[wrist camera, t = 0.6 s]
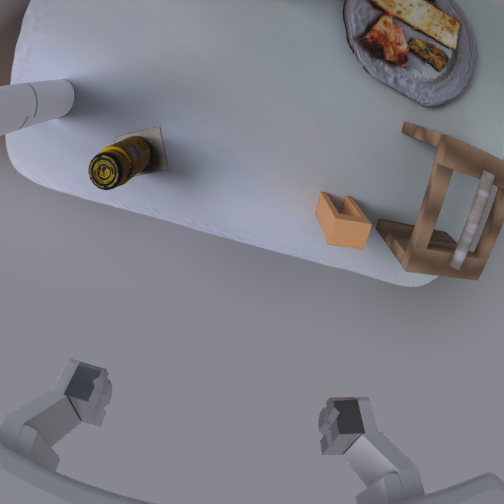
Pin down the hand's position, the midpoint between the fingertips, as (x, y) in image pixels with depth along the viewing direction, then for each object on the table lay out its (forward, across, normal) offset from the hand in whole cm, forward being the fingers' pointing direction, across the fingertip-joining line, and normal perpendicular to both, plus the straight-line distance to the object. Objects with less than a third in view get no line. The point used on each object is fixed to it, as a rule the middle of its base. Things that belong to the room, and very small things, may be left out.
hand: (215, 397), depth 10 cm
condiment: (+42, +18, +2) cm, 46 cm away
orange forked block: (+42, -15, +6) cm, 45 cm away
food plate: (+42, -23, -27) cm, 55 cm away
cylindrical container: (+42, +35, -8) cm, 55 cm away
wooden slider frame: (+42, -32, -1) cm, 53 cm away
